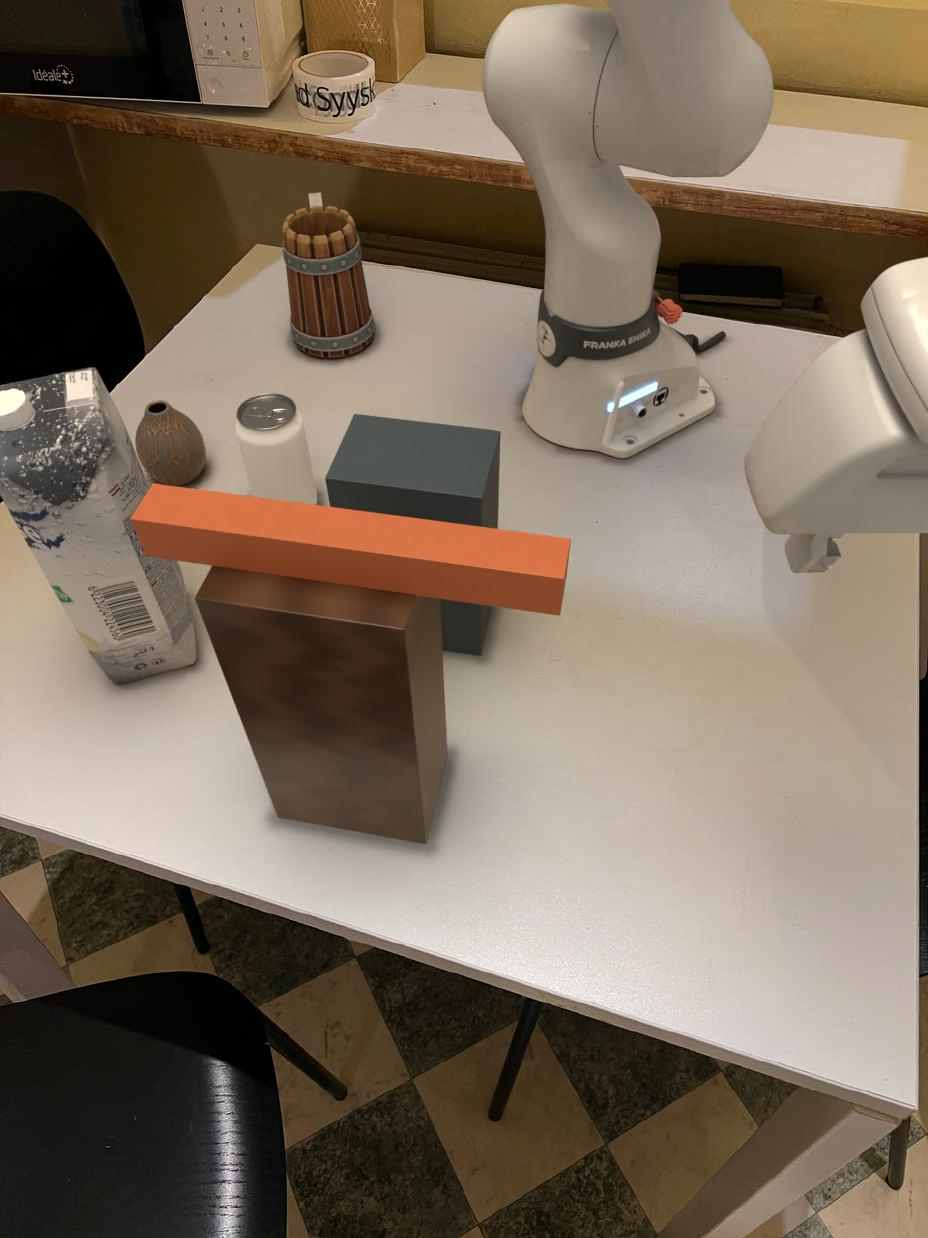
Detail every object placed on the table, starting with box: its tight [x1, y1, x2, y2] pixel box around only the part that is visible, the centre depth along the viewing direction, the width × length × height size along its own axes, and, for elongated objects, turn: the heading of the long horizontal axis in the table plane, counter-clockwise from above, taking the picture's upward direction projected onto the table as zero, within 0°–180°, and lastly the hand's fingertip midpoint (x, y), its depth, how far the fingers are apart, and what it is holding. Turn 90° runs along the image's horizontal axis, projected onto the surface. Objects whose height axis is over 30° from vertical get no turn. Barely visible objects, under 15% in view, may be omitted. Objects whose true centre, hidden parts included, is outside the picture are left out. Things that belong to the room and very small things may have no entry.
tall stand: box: [194, 566, 448, 844], centre depth 59 cm, size 12×8×26 cm, turn 79°
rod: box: [131, 483, 572, 617], centre depth 48 cm, size 24×3×3 cm, turn 79°
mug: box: [281, 192, 375, 359], centre depth 107 cm, size 16×11×15 cm
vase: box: [134, 399, 207, 487], centre depth 91 cm, size 7×7×9 cm
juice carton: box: [0, 366, 197, 685], centre depth 69 cm, size 9×10×27 cm
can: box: [235, 392, 318, 505], centre depth 86 cm, size 6×6×12 cm
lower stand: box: [324, 413, 501, 657], centre depth 74 cm, size 12×8×19 cm, turn 79°
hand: (889, 559), depth 41 cm, fingers open, 8 cm apart
